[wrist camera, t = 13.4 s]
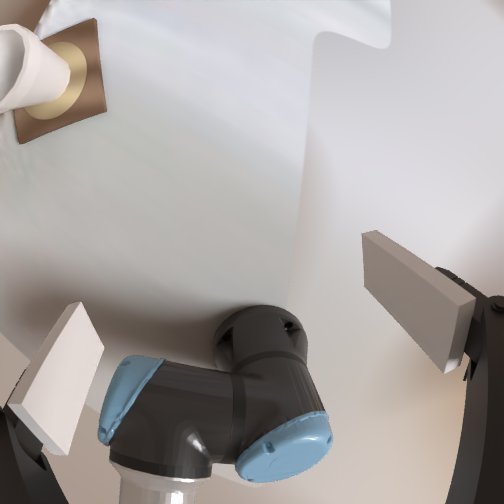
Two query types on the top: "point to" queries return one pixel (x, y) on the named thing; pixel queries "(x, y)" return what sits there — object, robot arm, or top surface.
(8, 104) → the foam cup
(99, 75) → the stand board
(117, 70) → the top surface
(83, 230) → the top surface
